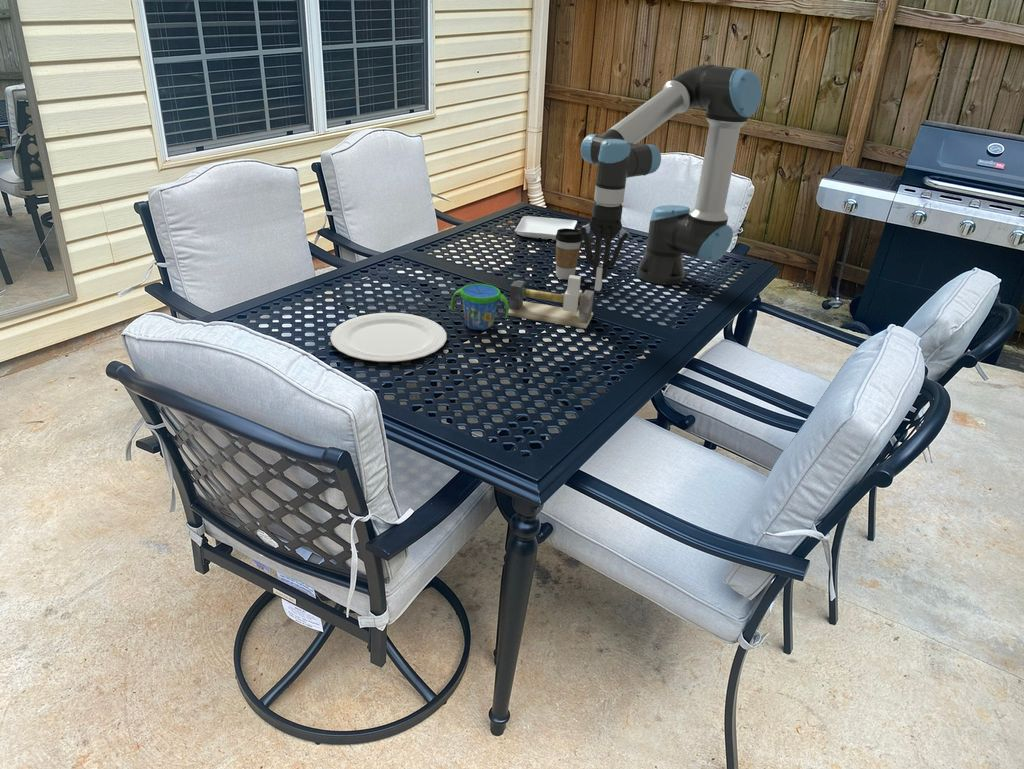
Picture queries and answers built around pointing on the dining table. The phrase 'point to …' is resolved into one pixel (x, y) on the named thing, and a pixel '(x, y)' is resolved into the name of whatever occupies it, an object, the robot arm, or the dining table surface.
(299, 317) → the dining table surface
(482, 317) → the snack cup
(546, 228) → the salad plate
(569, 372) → the dining table surface
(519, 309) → the lead screw slide rig
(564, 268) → the coffee cup
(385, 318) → the plate
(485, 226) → the dining table surface
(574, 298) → the sleeve
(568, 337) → the dining table surface
